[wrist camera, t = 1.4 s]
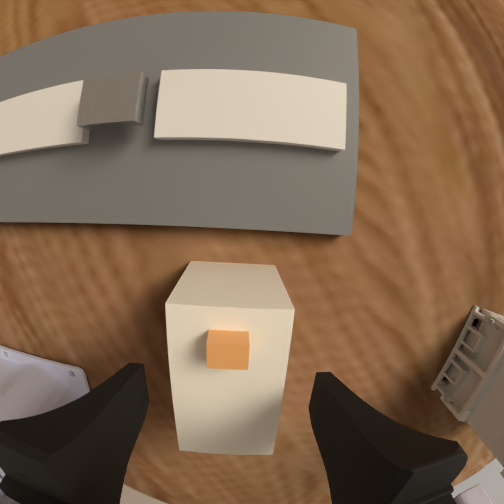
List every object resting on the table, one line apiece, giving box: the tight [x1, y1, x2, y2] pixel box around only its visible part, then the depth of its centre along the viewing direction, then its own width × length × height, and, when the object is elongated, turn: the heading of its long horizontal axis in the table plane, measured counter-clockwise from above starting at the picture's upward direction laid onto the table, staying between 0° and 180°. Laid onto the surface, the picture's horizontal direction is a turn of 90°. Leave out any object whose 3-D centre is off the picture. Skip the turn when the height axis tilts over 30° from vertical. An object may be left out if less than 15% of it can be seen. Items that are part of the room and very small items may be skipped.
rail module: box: [165, 261, 295, 455], centre depth 13 cm, size 4×8×7 cm, turn 176°
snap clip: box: [77, 71, 149, 130], centre depth 11 cm, size 3×2×1 cm
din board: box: [0, 11, 359, 236], centre depth 13 cm, size 24×12×2 cm, turn 86°
